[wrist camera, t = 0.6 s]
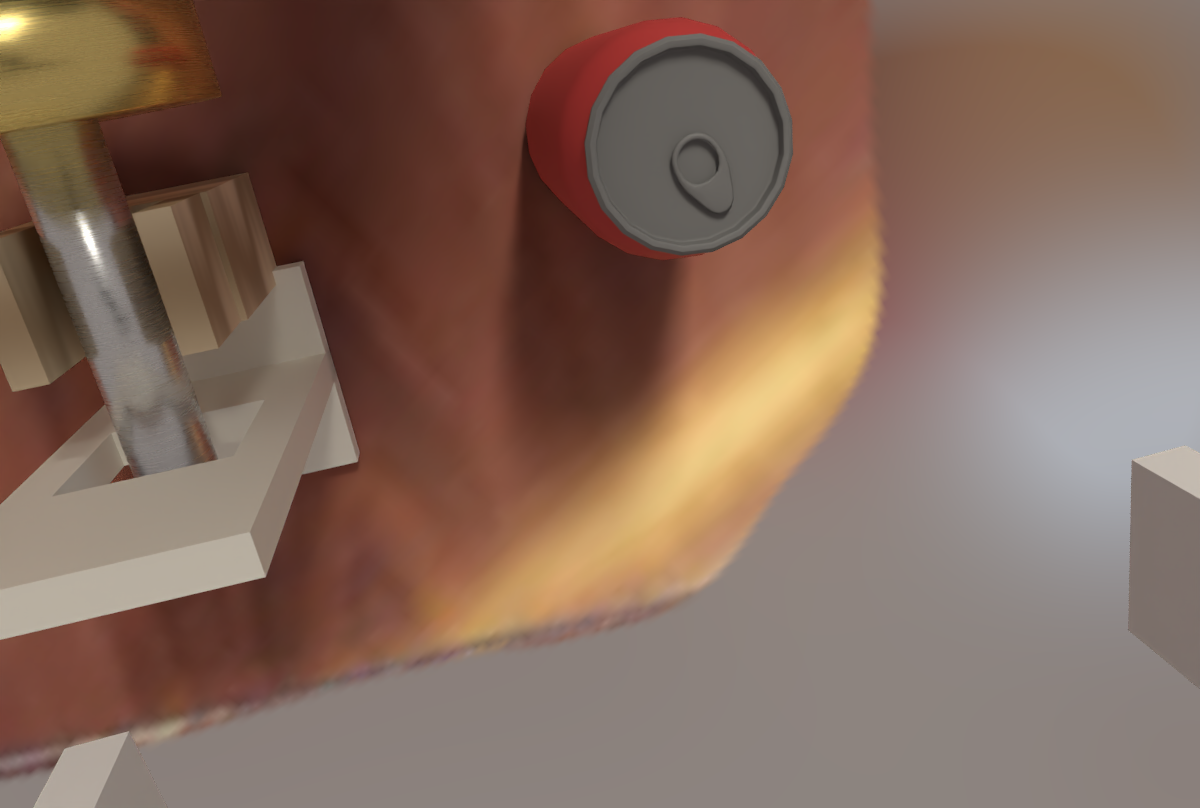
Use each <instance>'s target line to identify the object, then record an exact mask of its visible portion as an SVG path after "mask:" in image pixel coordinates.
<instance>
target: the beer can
mask: <svg viewBox="0 0 1200 808" xmlns="http://www.w3.org/2000/svg"><path fill="white" fill-rule="evenodd" d="M526 130H527V139H528V147H529V154H530V156H531V158H532V160H533V163H534V165H535V167H536V169H537V172H538V174H539V176H540V178H541V180H542V181H543V182H544V183H545V184H546V185H547V186H548V188H549V189H550V190H551V191H552V192H553V193H554V194H555V195H556V197H557V198H558V199H559V200H560V201H561V202H562V203H563V204H564V205H565V206H566V207H568V208H569V209H570V210H571V211H572V212H573V213H574V214H575V215H576V216H577V217H578V218H579V219H580V220H581V221H582V222H583V223H584V224H585V225H587V226H588V227H589V228H590V229H591V230H592V231H593V232H594V233H595V234H596V235H597V236H598V237H600V238H602V239H603V240H605V241H607V242H609V243H610V244H612V245H614V246H616V247H617V248H619V249H621V250H623V251H624V252H626V253H628V254H633V255H638V256H643V257H648V258H653V259H658V260H668V259H675V258H683V257H691V256H698V255H702V254H705V253H707V252H713V251H715V250H718V249H720V248H722V247H724V246H726V245H728V244H730V243H732V242H735V241H737V240H739V239H741V238H743V237H744V236H745V235H746V234H747V233H748V232H749V231H750V230H751V229H752V228H754V227H755V226H756V225H757V224H758V223H759V222H760V221H761V220H762V219H763V218H765V217H766V216H767V214H768V212H769V211H770V209H771V207H772V206H773V204H774V202H775V201H776V199H777V198H778V196H779V194H780V193H781V191H782V189H783V188H784V185H785V181H786V177H787V174H788V170H789V166H790V162H791V159H792V155H793V143H792V118H791V115H790V112H789V109H788V106H787V103H786V100H785V97H784V94H783V91H782V88H781V87H780V85H779V84H778V82H777V81H776V80H775V78H774V77H773V76H772V74H771V73H770V72H769V70H768V69H767V68H766V66H765V65H764V64H763V62H762V61H761V60H760V59H758V58H757V57H756V55H755V54H754V53H753V51H752V50H750V49H749V48H748V47H746V46H745V45H744V44H742V43H741V42H739V41H738V40H736V39H735V38H733V37H732V36H730V35H729V34H727V33H726V32H725V31H723V30H722V29H720V28H719V27H717V26H713V25H709V24H706V23H702V22H698V21H694V20H690V19H686V18H682V17H679V18H669V19H658V20H648V21H642V22H639V23H636V24H632V25H629V26H626V27H623V28H620V29H616V30H613V31H610V32H607V33H603V34H600V35H597V36H594V37H591V38H589V39H587V40H585V41H582V42H580V43H578V44H576V45H574V46H572V47H570V48H567V49H566V50H565V51H564V52H563V53H561V54H560V55H559V56H558V57H557V58H556V59H555V60H554V61H553V62H552V63H551V64H550V65H549V66H548V67H547V68H546V69H545V70H544V72H543V74H542V76H541V78H540V80H539V82H538V83H537V85H536V87H535V89H534V91H533V93H532V95H531V99H530V104H529V110H528V115H527V120H526Z"/></svg>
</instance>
